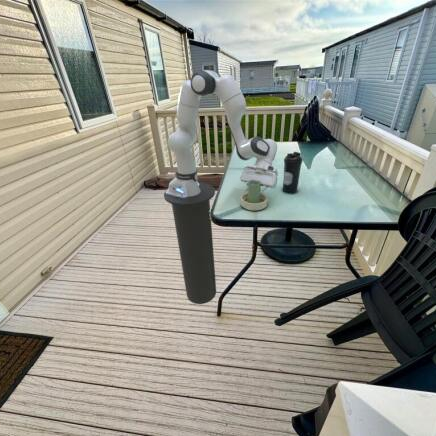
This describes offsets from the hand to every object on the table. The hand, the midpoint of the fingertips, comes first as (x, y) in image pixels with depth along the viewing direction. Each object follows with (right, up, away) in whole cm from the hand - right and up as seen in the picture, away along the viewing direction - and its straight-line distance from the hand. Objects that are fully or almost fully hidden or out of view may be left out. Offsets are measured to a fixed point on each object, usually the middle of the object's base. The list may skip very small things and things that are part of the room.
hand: (253, 191), depth 130 cm
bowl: (+1, -7, +5) cm, 8 cm away
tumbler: (0, -5, +4) cm, 7 cm away
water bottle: (+24, +3, +20) cm, 31 cm away
